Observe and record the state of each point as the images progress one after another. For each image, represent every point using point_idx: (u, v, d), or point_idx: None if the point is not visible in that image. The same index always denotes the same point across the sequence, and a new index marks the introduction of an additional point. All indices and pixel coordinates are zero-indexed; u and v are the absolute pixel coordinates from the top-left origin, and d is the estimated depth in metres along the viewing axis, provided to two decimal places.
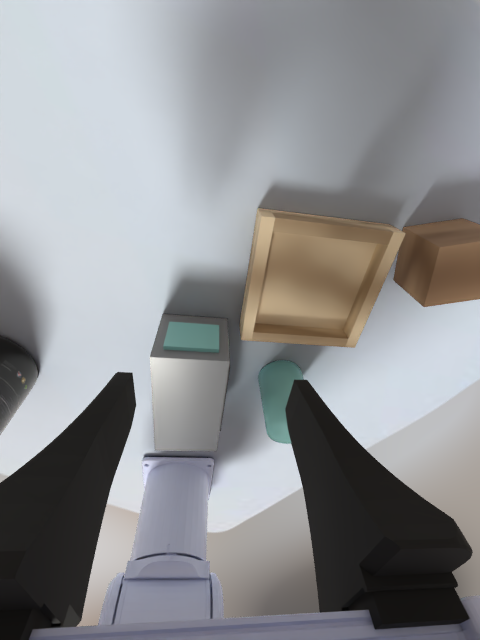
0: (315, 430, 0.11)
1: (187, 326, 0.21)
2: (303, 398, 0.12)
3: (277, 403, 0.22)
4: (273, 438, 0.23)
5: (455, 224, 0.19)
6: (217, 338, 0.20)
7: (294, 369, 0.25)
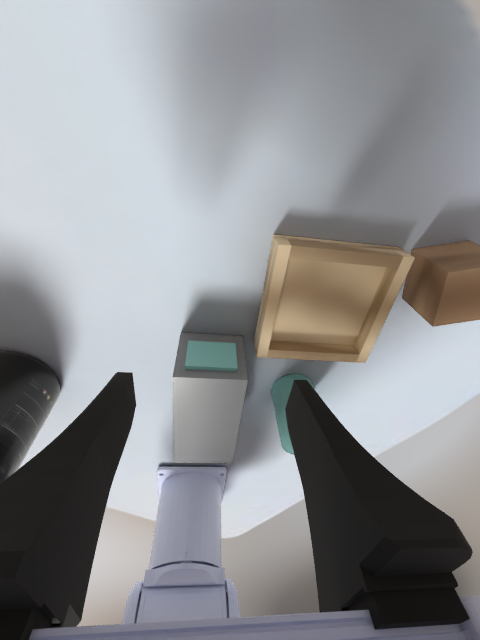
0: (315, 430, 0.11)
1: (205, 345, 0.22)
2: (303, 398, 0.12)
3: None
4: (287, 450, 0.24)
5: (462, 247, 0.20)
6: (235, 357, 0.21)
7: None
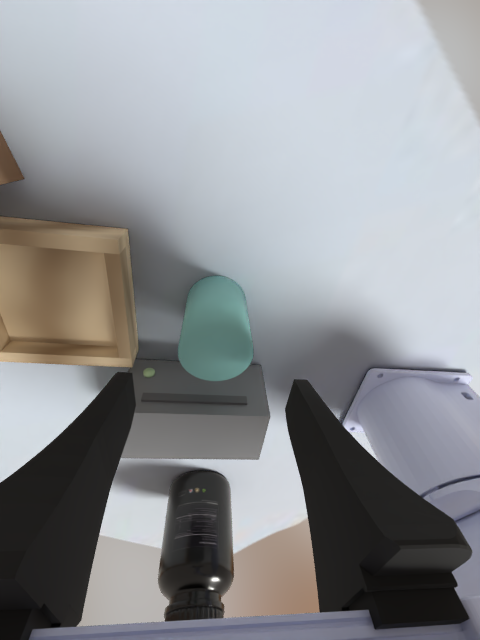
0: (315, 430, 0.11)
1: None
2: (303, 398, 0.12)
3: None
4: (238, 372, 0.16)
5: None
6: None
7: (188, 297, 0.18)
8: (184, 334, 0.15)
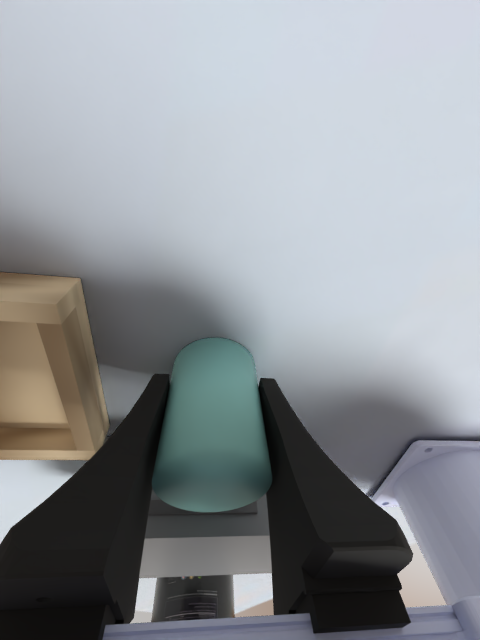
0: (274, 429, 0.10)
1: None
2: (266, 397, 0.12)
3: None
4: (248, 502, 0.10)
5: None
6: None
7: (173, 370, 0.13)
8: (161, 462, 0.09)
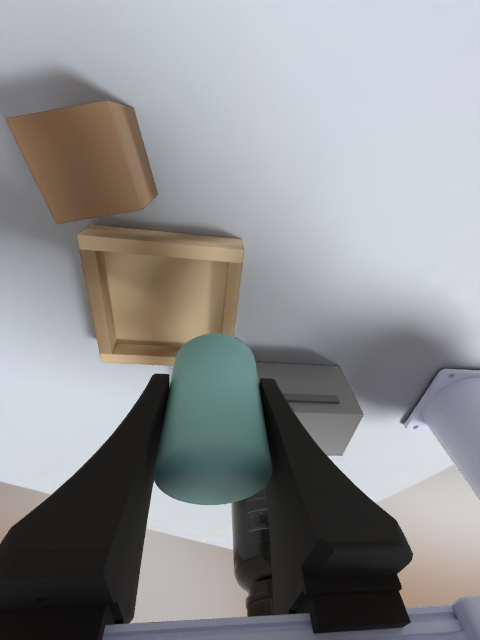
0: (274, 429, 0.10)
1: None
2: (266, 397, 0.12)
3: None
4: (248, 494, 0.11)
5: None
6: None
7: (175, 365, 0.13)
8: (163, 454, 0.09)
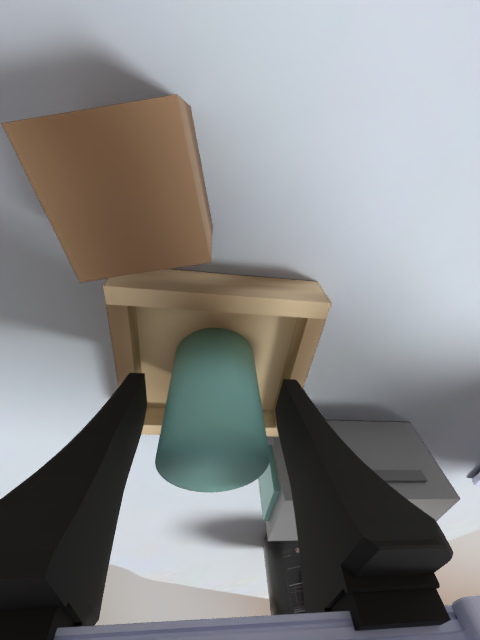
0: (302, 430, 0.11)
1: None
2: (291, 398, 0.12)
3: None
4: (246, 481, 0.11)
5: None
6: (270, 471, 0.17)
7: (175, 359, 0.13)
8: (164, 441, 0.09)
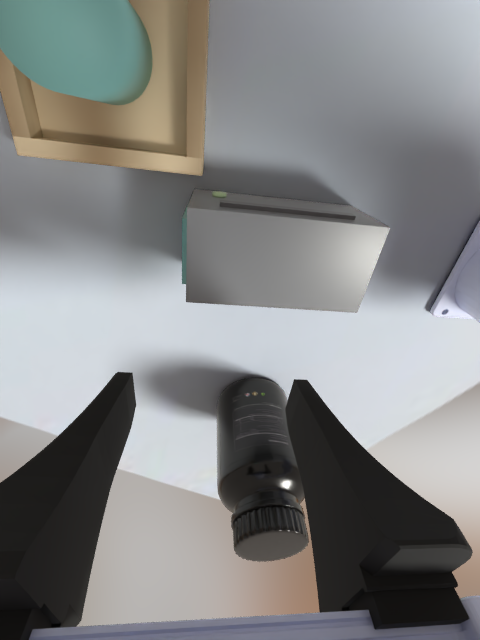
0: (315, 430, 0.11)
1: None
2: (303, 398, 0.12)
3: None
4: (102, 70, 0.09)
5: None
6: (184, 214, 0.15)
7: None
8: None
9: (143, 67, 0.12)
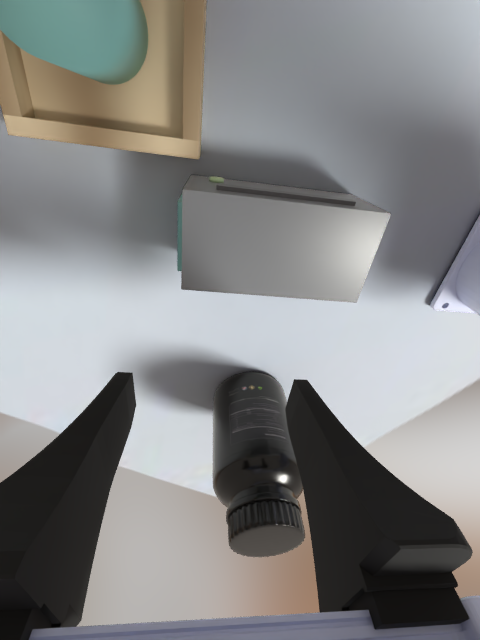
0: (315, 430, 0.11)
1: None
2: (303, 398, 0.12)
3: None
4: (94, 38, 0.09)
5: None
6: None
7: None
8: None
9: (138, 43, 0.12)
